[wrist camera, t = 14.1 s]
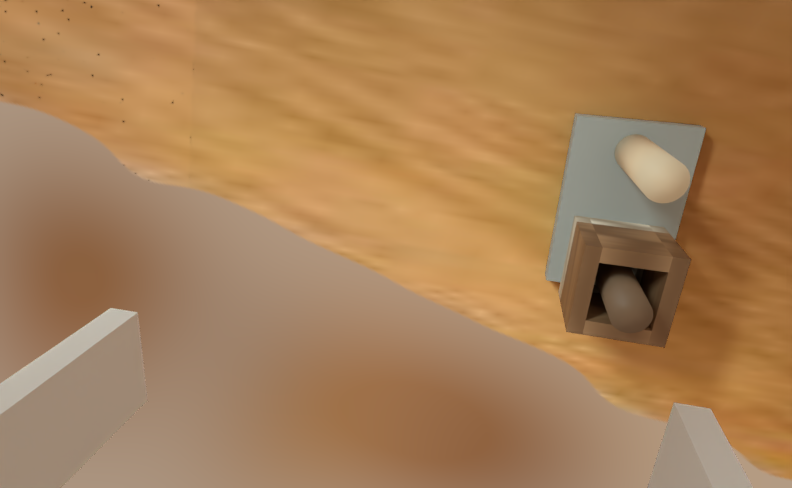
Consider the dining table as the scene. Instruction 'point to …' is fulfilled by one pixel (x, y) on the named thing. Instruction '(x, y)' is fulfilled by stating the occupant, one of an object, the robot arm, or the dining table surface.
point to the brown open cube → (625, 247)
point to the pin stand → (624, 196)
